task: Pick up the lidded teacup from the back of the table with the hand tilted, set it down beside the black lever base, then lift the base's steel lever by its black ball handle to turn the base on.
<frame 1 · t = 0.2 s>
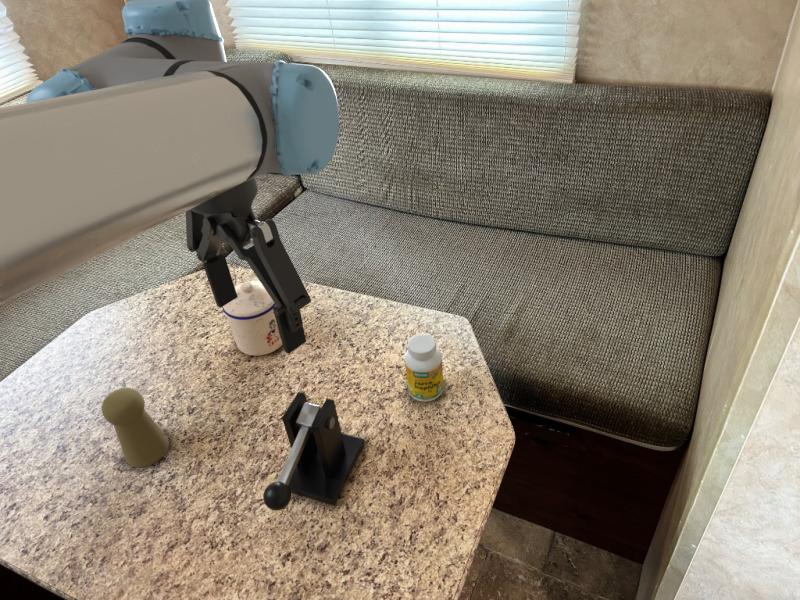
hand: (259, 323, 74), 20 cm above the table, tool pointing down, fingers open, 13 cm apart
olive green pawn: (147, 450, 86), on the table
teacup with lid: (265, 333, 104), on the table
tap lever: (294, 456, 73), point 9 cm above the table, hinge at -15.0°
black lever base: (323, 466, 81), on the table
supplement bottle: (425, 390, 91), on the table
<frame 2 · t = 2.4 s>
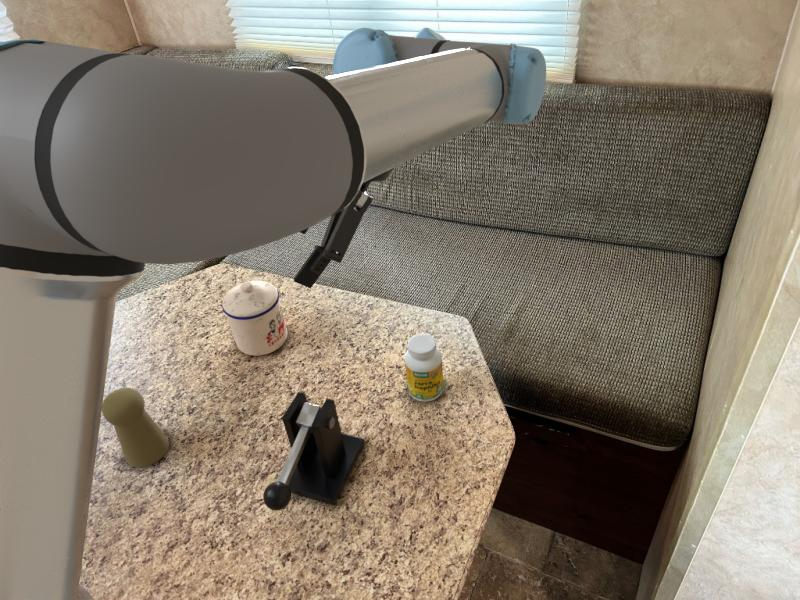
hand: (299, 255, 91), 17 cm above the table, tool tilted 40°, fingers open, 13 cm apart
nothing on the table moved.
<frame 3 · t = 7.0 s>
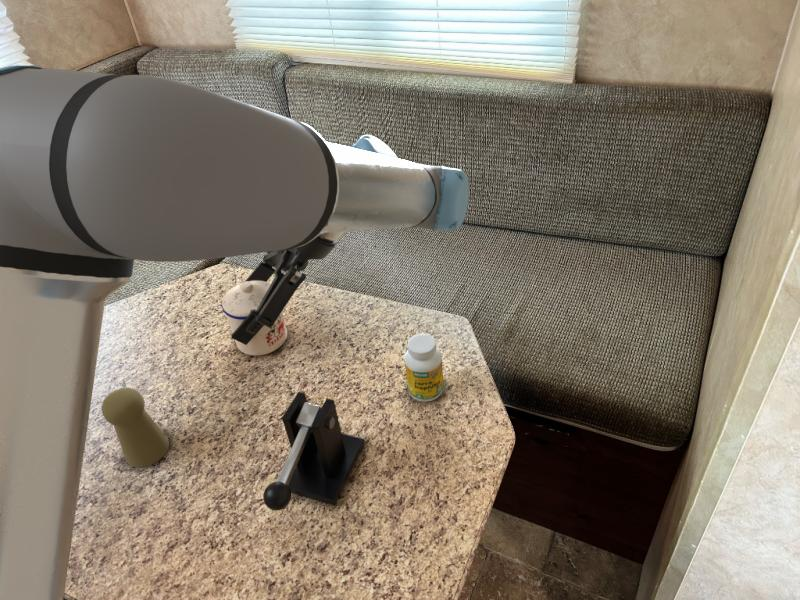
hand: (243, 314, 101), 5 cm above the table, tool tilted 45°, fingers closed on teacup with lid, 12 cm apart
teacup with lid: (265, 333, 104), on the table, touching gripper
everything else where it was.
when the fingers open (5 cm above the table, at t = 14.8 s): teacup with lid stays where it is, on the table.
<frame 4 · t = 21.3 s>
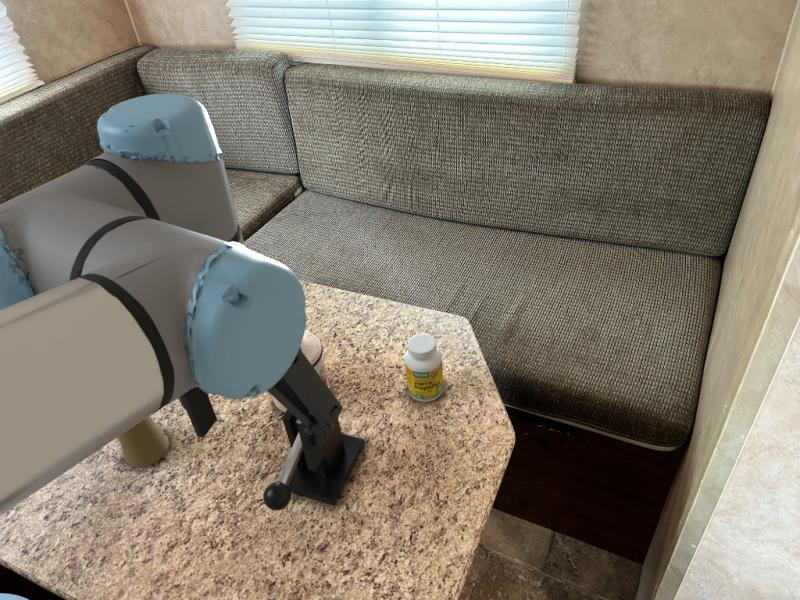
hand: (260, 443, 64), 17 cm above the table, tool pointing down, fingers open, 13 cm apart
teacup with lid: (304, 387, 93), on the table
everything else where it was.
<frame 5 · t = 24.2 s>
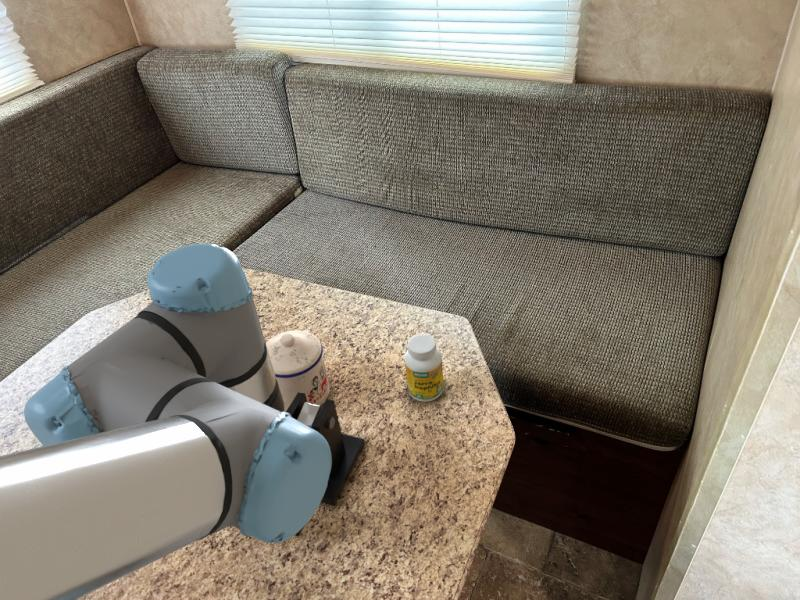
hand: (286, 521, 73), 2 cm above the table, tool pointing down, fingers closed on tap lever, 3 cm apart
tap lever: (294, 456, 73), point 9 cm above the table, hinge at -15.0°, touching gripper
everything else where it was.
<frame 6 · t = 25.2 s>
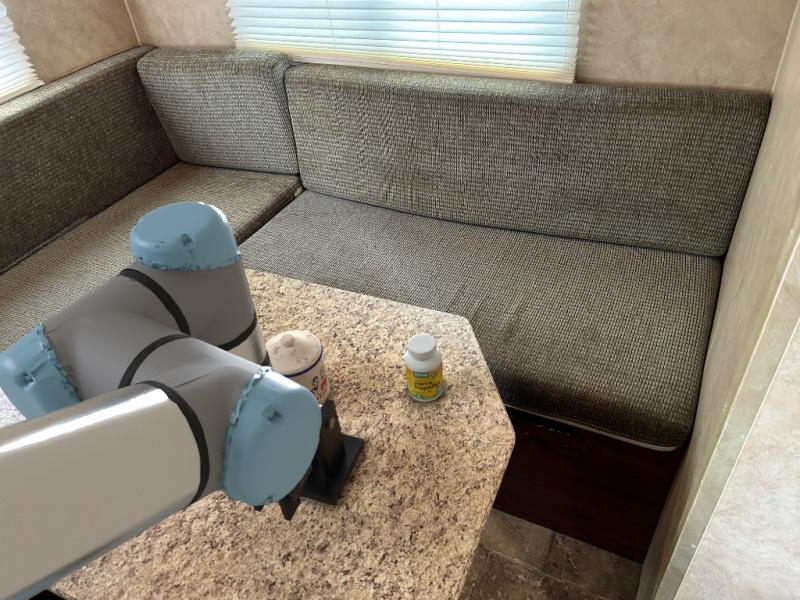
hand: (278, 505, 71), 6 cm above the table, tool pointing down, fingers closed on tap lever, 3 cm apart
tap lever: (290, 447, 71), point 11 cm above the table, hinge at 7.1°, touching gripper
everything else where it was.
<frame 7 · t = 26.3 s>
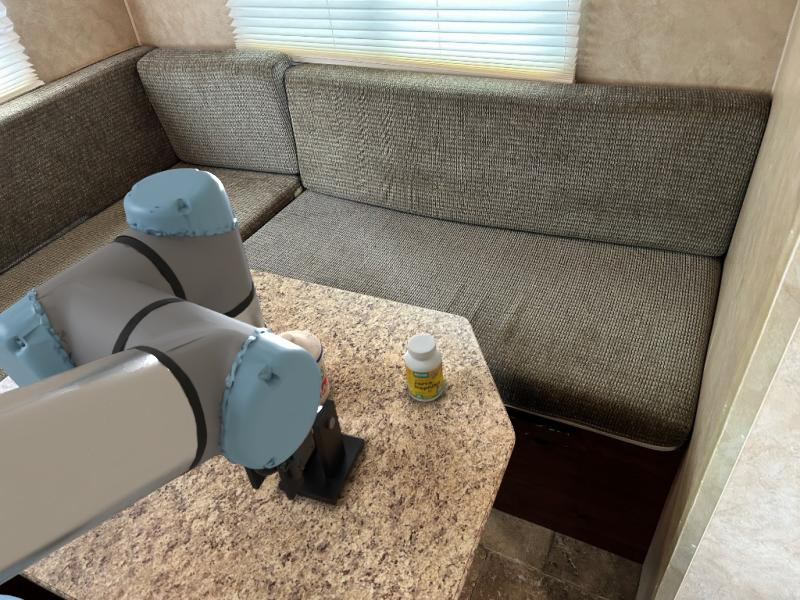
hand: (278, 484, 70), 9 cm above the table, tool pointing down, fingers open, 4 cm apart
tap lever: (289, 438, 71), point 12 cm above the table, hinge at 21.7°
everything else where it was.
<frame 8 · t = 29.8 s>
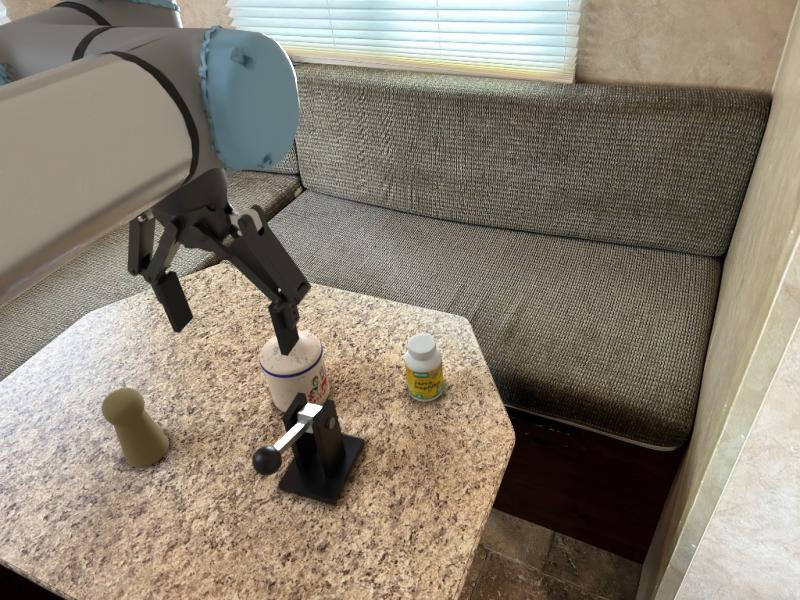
hand: (235, 335, 66), 25 cm above the table, tool pointing down, fingers open, 13 cm apart
nothing on the table moved.
at the end: tap lever at +22° (first picture: -15°); teacup with lid inside the target area on the table beside the black lever base (0.1 cm from its centre), on the table; teacup with lid tilted 0° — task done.
